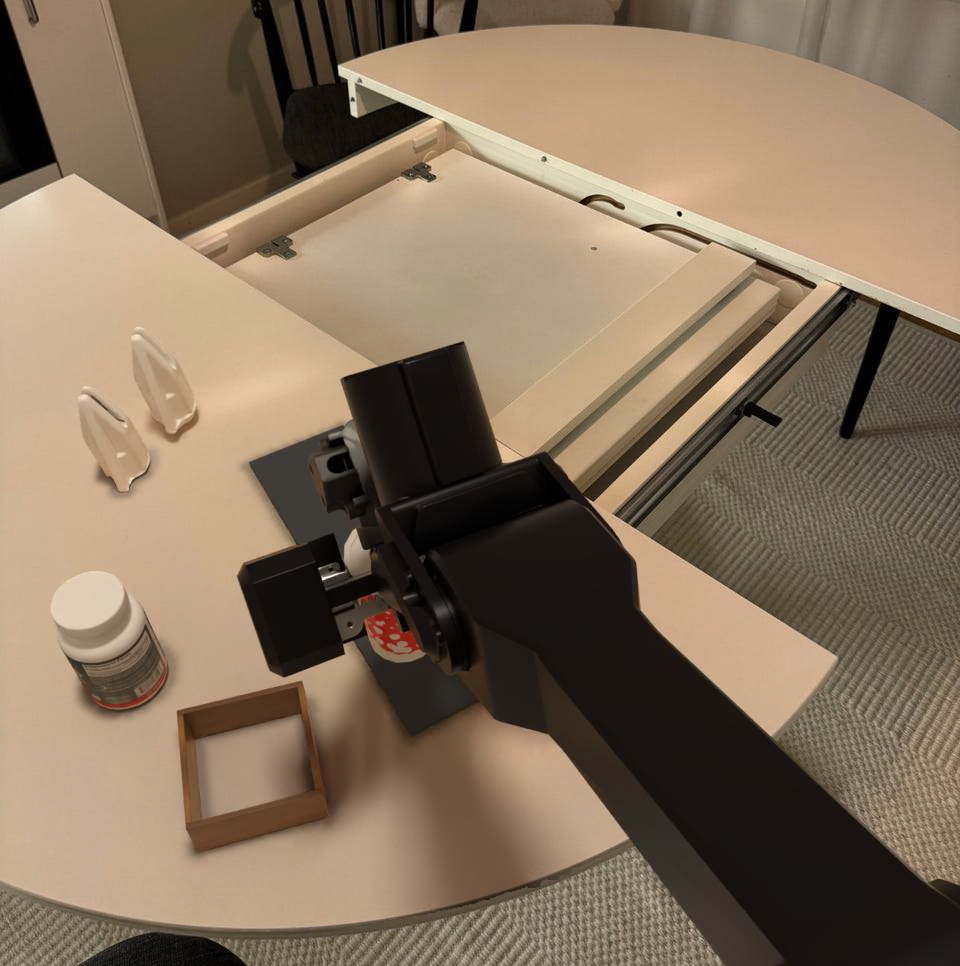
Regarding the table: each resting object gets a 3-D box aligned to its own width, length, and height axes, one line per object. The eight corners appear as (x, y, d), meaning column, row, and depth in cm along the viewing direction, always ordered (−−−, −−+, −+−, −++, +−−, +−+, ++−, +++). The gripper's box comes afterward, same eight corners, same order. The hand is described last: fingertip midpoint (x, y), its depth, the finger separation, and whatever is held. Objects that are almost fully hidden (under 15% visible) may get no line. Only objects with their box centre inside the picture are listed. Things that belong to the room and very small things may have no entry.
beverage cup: (416, 687, 62) (403, 552, 52) (339, 647, 64) (311, 509, 54) (465, 619, 65) (461, 480, 55) (390, 583, 68) (373, 442, 57)
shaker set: (179, 393, 90) (149, 297, 81) (215, 408, 88) (187, 311, 80) (88, 477, 83) (45, 381, 74) (125, 494, 81) (85, 398, 73)
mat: (521, 678, 69) (521, 675, 69) (411, 737, 66) (411, 734, 66) (343, 427, 87) (342, 424, 86) (249, 464, 84) (248, 461, 83)
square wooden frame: (329, 817, 62) (322, 794, 60) (198, 851, 61) (185, 829, 58) (308, 705, 68) (302, 680, 65) (188, 735, 66) (176, 710, 64)
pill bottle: (86, 654, 71) (41, 574, 63) (165, 635, 72) (129, 554, 64) (89, 722, 67) (41, 645, 60) (172, 700, 68) (135, 622, 61)
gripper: (578, 356, 47) (484, 388, 62) (205, 473, 42) (200, 478, 57) (643, 568, 48) (535, 550, 63) (286, 709, 43) (260, 653, 58)
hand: (388, 553), depth 60 cm, fingers closed on beverage cup, 6 cm apart
